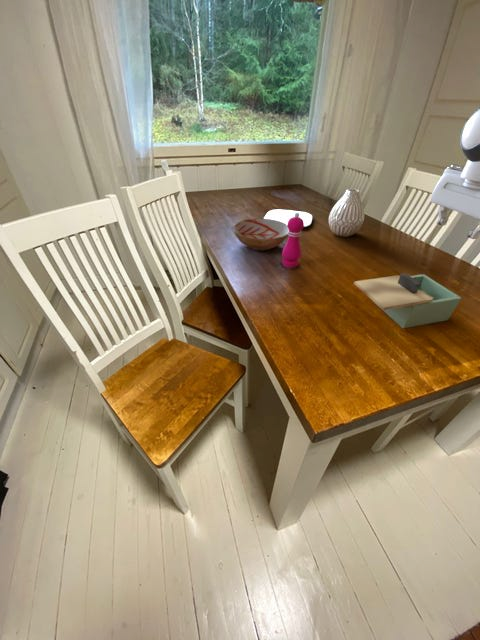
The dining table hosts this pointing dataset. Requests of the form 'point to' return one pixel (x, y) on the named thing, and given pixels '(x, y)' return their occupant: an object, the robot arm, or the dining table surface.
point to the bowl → (261, 233)
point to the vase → (347, 214)
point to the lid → (393, 291)
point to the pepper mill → (293, 242)
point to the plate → (288, 216)
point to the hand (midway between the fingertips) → (455, 231)
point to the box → (426, 305)
